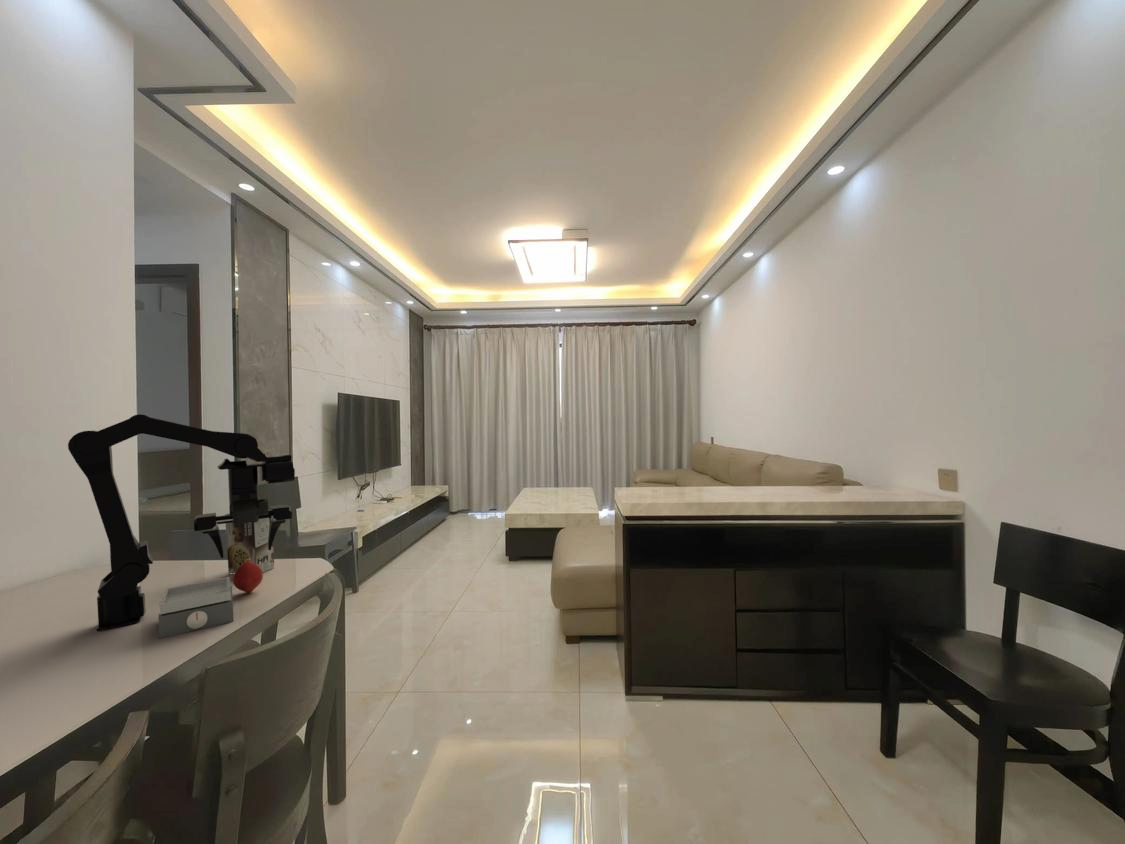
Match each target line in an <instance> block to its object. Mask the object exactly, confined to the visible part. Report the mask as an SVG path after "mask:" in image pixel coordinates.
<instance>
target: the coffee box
mask: <svg viewBox="0 0 1125 844" xmlns="http://www.w3.org/2000/svg"><path fill="white" fill-rule="evenodd" d="M268 510H271V508H270V509H269V508H268ZM224 515H230V513H226V514H224ZM270 519H271V518H263V519H259V521H258V522H255V523H251V522H250V523H242V524H241V525H235V524H233V522H232V523H225V536H226V537H225V538H226V550H227V568H228V574H229V573H235V572H236V570H237V569H238V568H239V566H241V565H242V564H243V563H244V562H245V561H246V560H247V559H251V562H252V563H254V564H256V565H258V566H259V567H260V568H261V570H262V572H263V573H264V572H267V571H269V570H272V569H275V554H274V552H275V551H274V550H275V549H274V543H273V544H272V547H271V550H268V536H269V524H270Z"/></svg>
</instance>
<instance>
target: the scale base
mask: <svg viewBox="0 0 1125 844" xmlns="http://www.w3.org/2000/svg"><path fill="white" fill-rule="evenodd" d="M230 588H231V600H228V601H223V602H218V603H213V604H209V605H204V606H199V607H194V608H189V609H185V610H180V611H175V612H170V613H165V614H161V615H160V612H159V614H158V617H157V622H158V638H159V639H162V638H167V637H171V636H176V635H180V634H185V633H188V632H194V631H198V630H202V629H206V628H210V627H211V628H212V627H214V626H219V625H220V626H221V625H223V624H224V625H225V624H228V623H232V622H234V618H235V617H234V601H233V587H232V585H230Z"/></svg>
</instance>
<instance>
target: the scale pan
mask: <svg viewBox="0 0 1125 844" xmlns="http://www.w3.org/2000/svg"><path fill="white" fill-rule="evenodd" d="M230 586H231V577H230V576H227V577H223V578H222V577H221V578H217V579H216V578H215V579H210V580H205V581H200V582H195V583H190V584H184V585H179V586H178V585H177V586H174V587H168V588H164V591H163V594H162V597H161V600H160V603H159V613H160V615H161V614H165V613H170V612H175V611H180V610H185V609H189V608H194V607H199V606H204V605H209V604H213V603H218V602H223V601H228V600H231V588H230Z"/></svg>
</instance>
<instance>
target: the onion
mask: <svg viewBox="0 0 1125 844" xmlns="http://www.w3.org/2000/svg"><path fill="white" fill-rule="evenodd" d="M263 577H264V572H262V570H261V568H260V567H259V566H258V565H256V564H254V563H252V562H251V559H247V560H246V561H245V562H244V563H243V564H242V565H241V566H239V568H238V569H237V570H236V572H235V574H233V576H232V583H233V586H234V587H235V588H236V589H238V590H239V591H242V592H244V593H247V594H251V593H252V592H254V590H255V589H256V588H257V587H258V586H260V584H261V583H262V581H263ZM250 592H251V593H250Z"/></svg>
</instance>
